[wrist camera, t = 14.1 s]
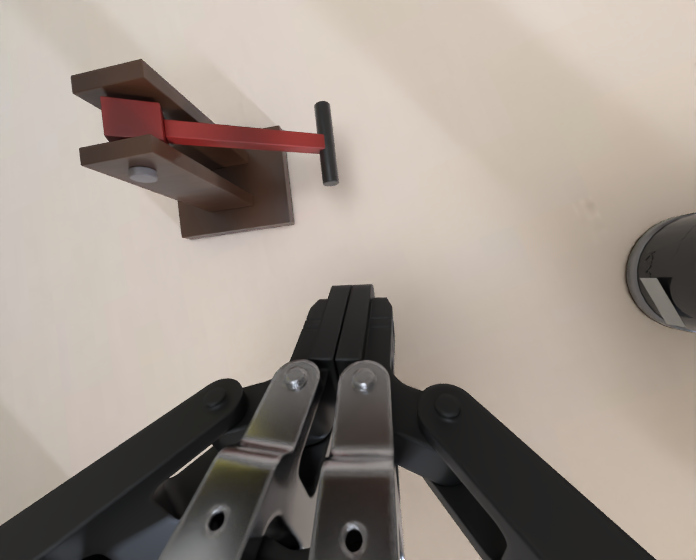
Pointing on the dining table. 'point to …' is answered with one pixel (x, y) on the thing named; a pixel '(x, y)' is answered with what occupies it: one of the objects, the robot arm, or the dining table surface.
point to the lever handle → (219, 132)
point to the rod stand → (187, 160)
